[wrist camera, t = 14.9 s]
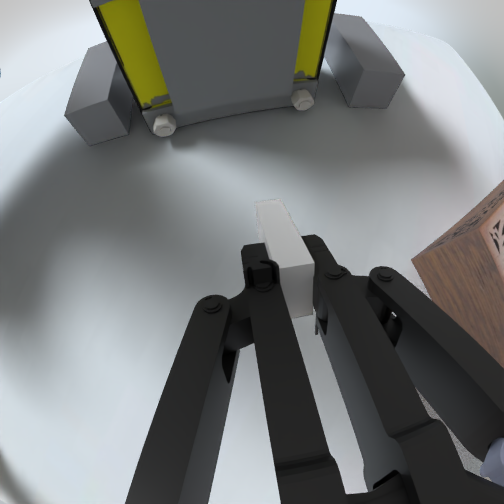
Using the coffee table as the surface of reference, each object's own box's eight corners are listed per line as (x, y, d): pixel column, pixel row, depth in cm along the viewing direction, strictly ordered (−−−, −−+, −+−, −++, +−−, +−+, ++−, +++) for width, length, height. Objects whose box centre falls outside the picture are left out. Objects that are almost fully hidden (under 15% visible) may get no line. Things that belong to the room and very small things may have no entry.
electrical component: (151, 148, 26) (66, -23, 7) (149, 84, 28) (98, -53, 9) (319, 115, 27) (367, -57, 8) (290, 58, 29) (307, -81, 10)
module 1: (89, 146, 26) (64, 115, 21) (104, 78, 29) (88, 48, 23) (128, 134, 27) (107, 99, 21) (137, 67, 29) (124, 35, 24)
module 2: (348, 107, 27) (364, 69, 22) (318, 46, 30) (325, 12, 24) (386, 108, 28) (405, 74, 22) (351, 48, 30) (361, 16, 24)
